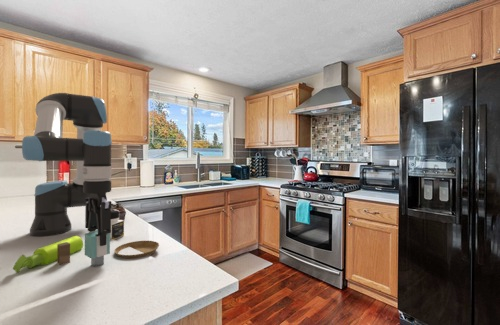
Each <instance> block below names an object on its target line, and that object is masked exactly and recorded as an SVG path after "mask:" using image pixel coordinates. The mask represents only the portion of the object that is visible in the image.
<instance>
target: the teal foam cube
mask: <svg viewBox="0 0 500 325" xmlns="http://www.w3.org/2000/svg"><path fill="white" fill-rule="evenodd" d="M96 234H98V231H96V232H91V233H89V232H87V233H84V256H86V257H88V258H89V259H93V258H96V236H95V235H96ZM110 242H111V239H110V233H108V234H107V255H110V254H111V245H110V244H111V243H110Z"/></svg>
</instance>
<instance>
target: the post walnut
mask: <svg viewBox="0 0 500 325" xmlns="http://www.w3.org/2000/svg"><path fill="white" fill-rule="evenodd" d="M56 261H57V263H56V264H58V265H59V266H62V265H66V264H68V263H71V254H70V243H68V242H65V243H61V244H57V260H56Z"/></svg>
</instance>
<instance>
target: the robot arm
mask: <svg viewBox="0 0 500 325" xmlns="http://www.w3.org/2000/svg"><path fill="white" fill-rule="evenodd" d="M106 108H107V107H106V104H105V101H104V100H103V98H100V97H97V96H96V97H95V96H90V95H83V94H74V93H67V92H56V93H51V94H48V95H46V96H44V97H42V98H41V99H39V101H38V102H37V104H36V106H35V109H34V110H35V114H36V123H35V128H34V132H33V135H32V136H31V135H30V136H29V135H27V136H24V137H23V138H22V142H21V151H22V152H21V153H22V157H23V159H24V160H25V161H32V162H33V161H34V162H35V161H36V162H52V161H53V162H55V161H56V162H59V161H60V162H64V161H65V162H75V161H76V176H75V177H74V178H73V179H72V182H70V183H68V181H67V180H55V181H50V182H48V181H47V182H43V183H40V184H37V185H36V186H35V188H34V189H35V190H34V195H33V196H34V218H33V221H32V223H31V225H30V228H29V236H32V237H45V236H47V237H48V236H54V235H58V234H59V235H60V234H63V233H66V232H69V231H71V230H72V223H71V219H70V218H69V214H68V208H69V209H70V208H76V207H77V208H78V207H85V211H84V212H85V214H84V216H85V220H84V222H85V224H84V228H85V229H87V231H88V233H91V232H96V231H98V234H96V235H95V236H96V257H100V256H103V255H104V256H107V255H108V254H107V234H108V233H111V204H112V201H111V200H109V201H108V198H107V193H109V192H112V181H111V179H112V171H113V170H112V167H113V166H112V144H113V141H112V135H111V132H110V131H105V130H101V129H103V127H104V125H105V124H107V122H108V121H107V120H108V115H107V109H106ZM63 121H72V126H74V127H75V128H76V138H74V137H73V138H72V137H63V134H64V133H63V125H64V124H63V123H64V122H63Z"/></svg>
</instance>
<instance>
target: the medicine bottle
mask: <svg viewBox="0 0 500 325" xmlns="http://www.w3.org/2000/svg"><path fill="white" fill-rule="evenodd" d="M118 219H119V211H118V210H111V233H110V240H111V239H112V240H113V241H115V240H116V239H120V238H122V237H125V220H118Z"/></svg>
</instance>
